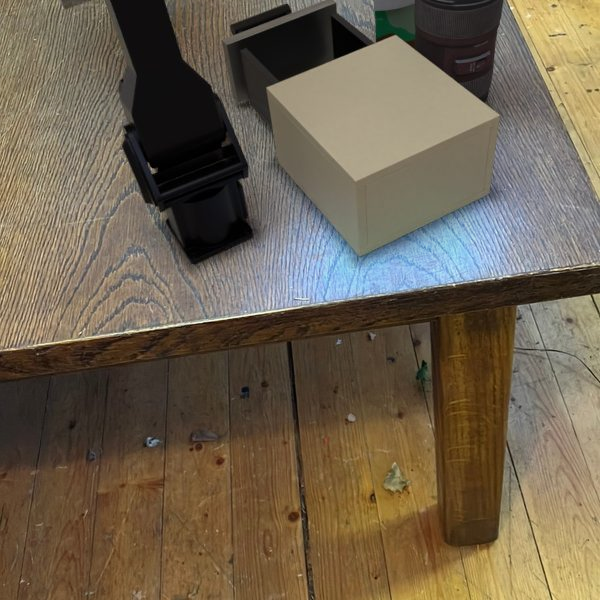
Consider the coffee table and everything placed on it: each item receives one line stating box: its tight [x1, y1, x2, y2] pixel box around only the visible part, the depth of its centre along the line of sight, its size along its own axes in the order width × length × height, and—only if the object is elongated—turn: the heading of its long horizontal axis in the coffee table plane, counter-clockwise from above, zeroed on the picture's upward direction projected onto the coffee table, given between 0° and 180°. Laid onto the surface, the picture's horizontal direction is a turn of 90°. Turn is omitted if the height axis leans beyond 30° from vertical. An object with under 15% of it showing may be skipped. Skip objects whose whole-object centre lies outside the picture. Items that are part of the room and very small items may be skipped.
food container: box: [373, 0, 415, 49], centre depth 81 cm, size 12×6×10 cm, turn 168°
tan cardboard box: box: [266, 35, 501, 258], centre depth 67 cm, size 16×14×9 cm
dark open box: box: [221, 0, 376, 131], centre depth 76 cm, size 20×13×7 cm, turn 29°
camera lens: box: [414, 0, 504, 104], centre depth 71 cm, size 8×8×15 cm
